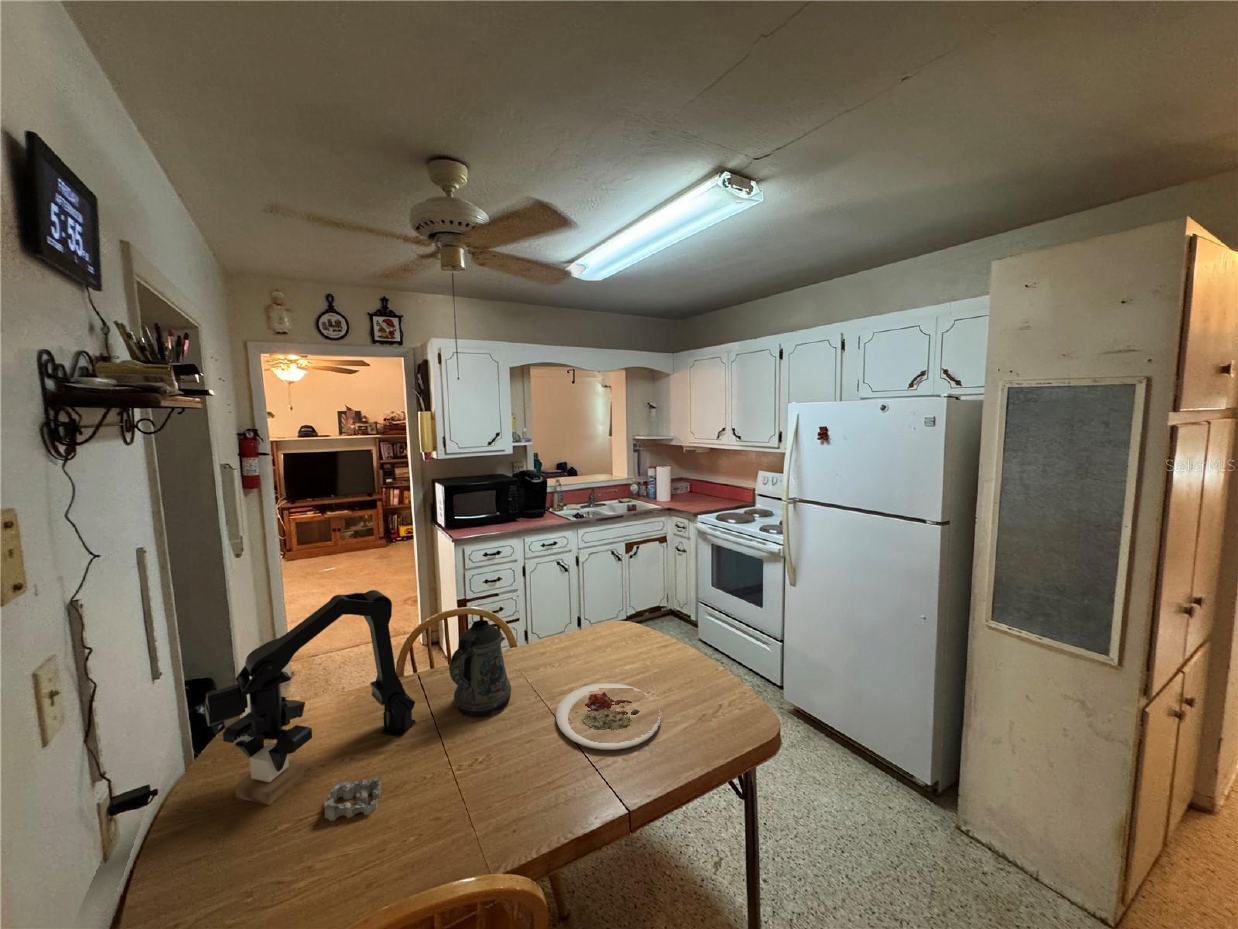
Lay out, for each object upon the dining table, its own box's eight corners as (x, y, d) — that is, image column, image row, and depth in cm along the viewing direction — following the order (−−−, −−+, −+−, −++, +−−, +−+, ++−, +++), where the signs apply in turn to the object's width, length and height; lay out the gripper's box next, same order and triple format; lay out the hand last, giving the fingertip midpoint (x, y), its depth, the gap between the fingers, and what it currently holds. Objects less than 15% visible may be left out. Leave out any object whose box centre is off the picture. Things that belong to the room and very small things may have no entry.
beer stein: (515, 686, 155) (515, 611, 152) (503, 726, 135) (502, 640, 133) (463, 686, 154) (462, 610, 151) (443, 725, 135) (441, 639, 132)
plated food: (618, 772, 119) (618, 760, 119) (533, 723, 137) (533, 712, 137) (680, 714, 143) (680, 703, 143) (601, 678, 161) (601, 668, 161)
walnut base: (303, 775, 116) (303, 763, 115) (269, 805, 107) (268, 792, 107) (272, 769, 117) (271, 757, 117) (236, 797, 109) (235, 785, 108)
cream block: (288, 766, 114) (287, 746, 113) (269, 782, 109) (268, 761, 108) (271, 762, 115) (269, 743, 114) (251, 778, 110) (249, 758, 109)
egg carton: (320, 824, 103) (319, 806, 102) (333, 796, 110) (332, 780, 110) (375, 816, 105) (374, 799, 104) (384, 789, 112) (383, 773, 112)
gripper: (329, 690, 116) (332, 751, 118) (264, 679, 120) (268, 738, 121) (289, 719, 105) (293, 785, 107) (218, 706, 109) (223, 771, 111)
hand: (270, 768), depth 112 cm, fingers closed on cream block, 5 cm apart
